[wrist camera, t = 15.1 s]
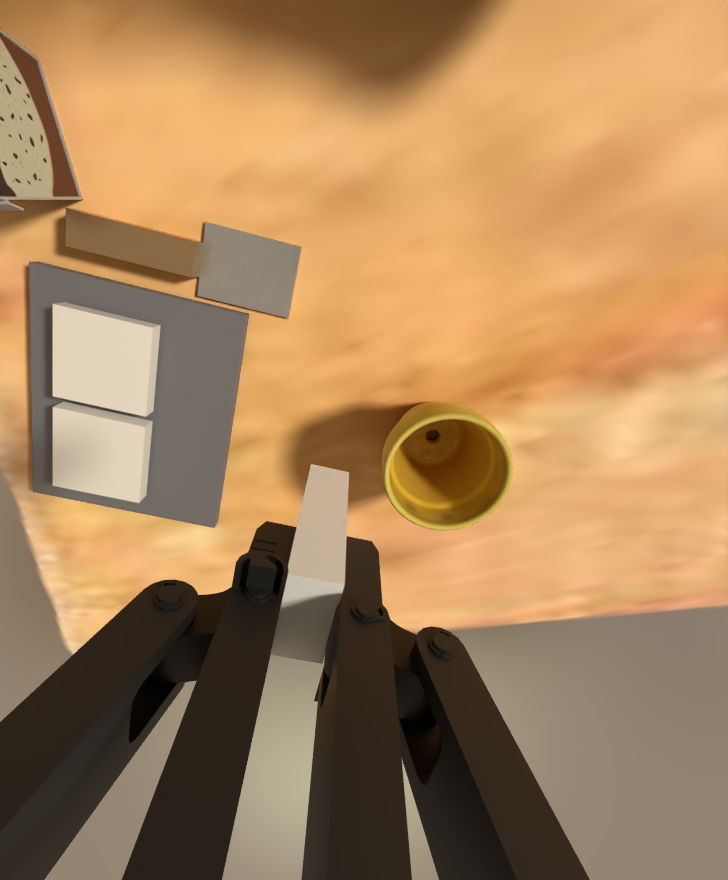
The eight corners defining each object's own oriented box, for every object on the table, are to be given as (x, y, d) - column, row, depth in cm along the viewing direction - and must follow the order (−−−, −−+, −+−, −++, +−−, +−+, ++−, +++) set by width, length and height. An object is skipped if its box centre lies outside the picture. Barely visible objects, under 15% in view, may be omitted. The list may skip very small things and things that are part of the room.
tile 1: (162, 324, 40) (67, 301, 39) (152, 327, 38) (52, 303, 37) (155, 409, 43) (66, 390, 42) (146, 416, 41) (52, 396, 40)
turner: (81, 266, 39) (65, 266, 37) (83, 189, 37) (65, 185, 35) (289, 317, 41) (285, 320, 39) (301, 247, 39) (298, 246, 37)
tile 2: (154, 419, 43) (66, 400, 42) (145, 427, 41) (52, 406, 40) (147, 493, 46) (65, 476, 45) (139, 503, 44) (52, 485, 43)
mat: (38, 261, 39) (29, 261, 38) (249, 313, 41) (246, 315, 40) (40, 486, 47) (33, 491, 46) (217, 521, 49) (214, 527, 48)
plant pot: (475, 370, 43) (506, 400, 34) (489, 467, 47) (520, 518, 38) (367, 394, 44) (370, 430, 35) (389, 488, 48) (397, 543, 38)
